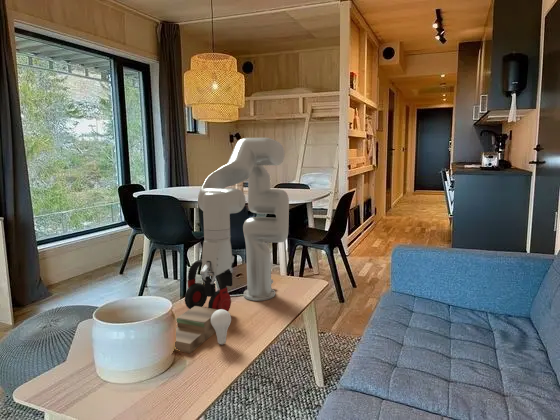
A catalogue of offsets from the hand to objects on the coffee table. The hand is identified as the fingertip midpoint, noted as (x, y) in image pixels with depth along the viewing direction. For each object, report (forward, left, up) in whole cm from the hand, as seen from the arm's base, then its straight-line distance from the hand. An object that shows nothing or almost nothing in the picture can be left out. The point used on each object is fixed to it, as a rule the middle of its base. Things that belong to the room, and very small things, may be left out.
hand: (219, 290), depth 120 cm
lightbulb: (0, 0, -17) cm, 17 cm away
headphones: (-18, -16, -17) cm, 30 cm away
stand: (-1, -11, -17) cm, 20 cm away
